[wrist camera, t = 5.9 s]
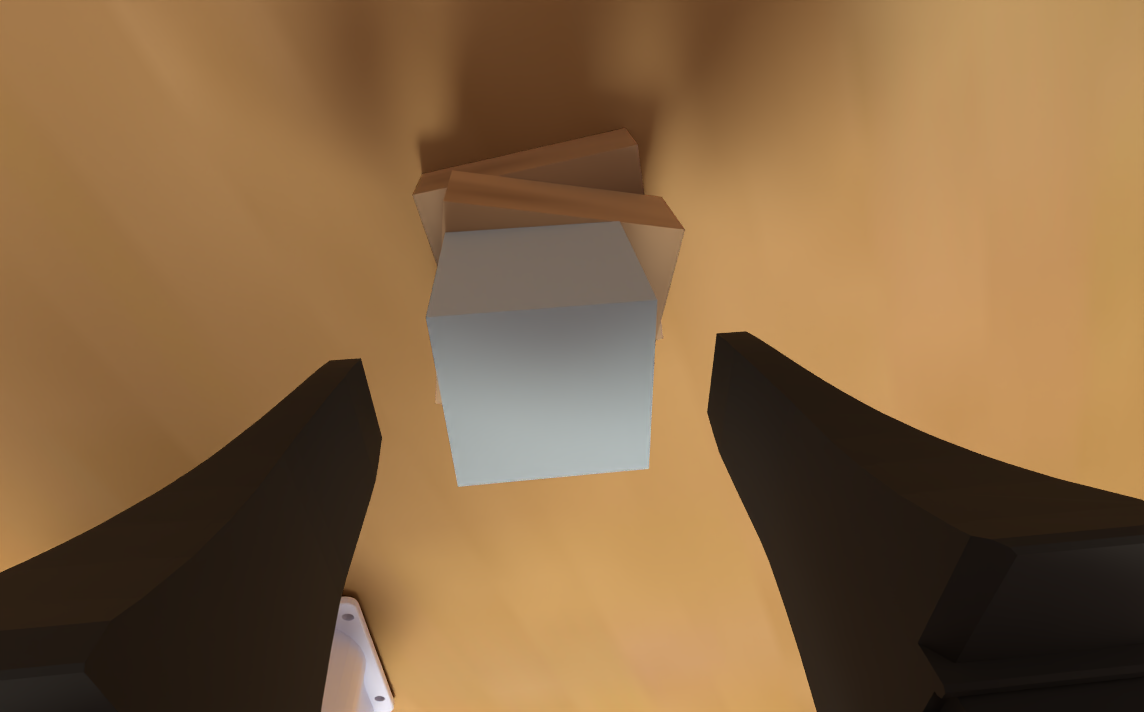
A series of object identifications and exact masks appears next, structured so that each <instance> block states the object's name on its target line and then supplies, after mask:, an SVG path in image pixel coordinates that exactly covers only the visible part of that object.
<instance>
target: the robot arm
mask: <svg viewBox="0 0 1144 712" xmlns="http://www.w3.org/2000/svg"><path fill="white" fill-rule="evenodd" d="M707 413H708V417H709V420H710V424H711V427H712V430H713V434H714V437H715V440H716V443H717V446H718V450H719V453H720V455H721V457H722V459H723V462H724V464H725V466H726V468H727V470H728V473H729V475H730V477H731V479H732V481H733V483H734V486H735V488H736V490H737V492H738V494H739V496H740V498H741V500H742V502H743V505H744V507H745V509H746V511H747V513H748V515H749V517H750V519H751V521H752V524H753V526H754V528H755V530H756V532H757V534H758V536H759V538H760V541H761V543H762V545H763V548H764V550H765V552H766V555H767V557H768V560H769V562H770V565H771V568H772V571H773V574H774V577H775V580H776V582H777V585H778V588H779V591H780V594H781V597H782V600H783V603H784V606H785V609H786V612H787V615H788V618H789V621H790V624H791V628H792V631H793V634H794V637H795V640H796V643H797V646H798V649H799V653H800V656H801V659H802V663H803V666H804V669H805V673H806V676H807V680H808V683H809V687H810V690H811V693H812V697H813V700H814V704H815V707H816V710H817V712H1144V501H1143V500H1141V499H1137V498H1133V497H1129V496H1125V495H1121V494H1117V493H1113V492H1109V491H1105V490H1101V489H1097V488H1093V487H1089V486H1085V485H1081V484H1077V483H1073V482H1069V481H1065V480H1061V479H1057V478H1054V477H1050V476H1047V475H1044V474H1040V473H1037V472H1034V471H1030V470H1027V469H1024V468H1021V467H1017V466H1014V465H1011V464H1008V463H1005V462H1002V461H999V460H996V459H993V458H990V457H987V456H984V455H981V454H978V453H976V452H973V451H970V450H968V449H965V448H962V447H960V446H957V445H955V444H952V443H949V442H947V441H944V440H941V439H939V438H937V437H934V436H932V435H929V434H927V433H925V432H922V431H920V430H918V429H915V428H913V427H911V426H909V425H907V424H905V423H903V422H900V421H898V420H896V419H894V418H892V417H890V416H887V415H885V414H883V413H881V412H879V411H877V410H875V409H873V408H871V407H870V406H868V405H866V404H864V403H862V402H860V401H859V400H857V399H855V398H853V397H851V396H850V395H848V394H846V393H844V392H842V391H841V390H839V389H837V388H836V387H834V386H832V385H831V384H829V383H827V382H825V381H824V380H822V379H821V378H819V377H817V376H816V375H814V374H813V373H811V372H809V371H808V370H806V369H805V368H803V367H802V366H800V365H798V364H797V363H795V362H794V361H792V360H791V359H789V358H788V357H786V356H785V355H783V354H782V353H780V352H779V351H777V350H775V349H774V348H772V347H771V346H769V345H768V344H766V343H765V342H763V341H762V340H760V339H758V338H757V337H755V336H753V335H752V334H750V333H748V332H731V333H717V336H716V344H715V353H714V361H713V369H712V377H711V386H710V394H709V402H708V411H707ZM381 441H382V436H381V432H380V428H379V425H378V421H377V417H376V413H375V410H374V406H373V402H372V398H371V395H370V391H369V387H368V383H367V379H366V376H365V372H364V368H363V364H362V361H361V358H360V359H345V360H331V361H329V362H327V363H326V364H325V365H323V366H322V367H321V368H319V369H318V370H317V371H316V372H315V373H313V374H312V375H311V376H310V377H309V378H308V379H306V380H305V381H304V382H303V383H302V384H301V385H299V386H298V387H297V388H296V389H295V390H294V391H293V392H291V393H290V394H289V395H288V396H287V397H286V398H284V399H283V400H282V401H281V402H280V403H278V404H277V405H276V406H275V407H274V408H273V409H271V410H270V411H269V412H268V413H267V414H266V415H264V416H263V417H262V418H261V419H260V420H258V421H257V422H256V423H254V424H253V425H252V426H251V427H249V428H248V429H247V430H245V431H244V432H243V433H242V434H240V435H239V436H238V437H236V438H235V439H234V440H232V441H231V442H230V443H229V444H227V445H226V446H225V447H223V448H222V449H221V450H220V451H218V452H217V453H215V454H214V455H213V456H211V457H210V458H209V459H207V460H206V461H204V462H203V463H201V464H200V465H198V466H197V467H196V468H194V469H193V470H191V471H190V472H188V473H186V474H185V475H183V476H182V477H180V478H179V479H177V480H176V481H174V482H173V483H171V484H169V485H168V486H166V487H165V488H163V489H161V490H160V491H158V492H157V493H155V494H153V495H151V496H150V497H148V498H146V499H144V500H143V501H141V502H139V503H137V504H136V505H134V506H132V507H130V508H128V509H127V510H125V511H123V512H121V513H120V514H118V515H116V516H114V517H113V518H111V519H109V520H107V521H106V522H104V523H102V524H100V525H98V526H96V527H94V528H93V529H91V530H89V531H87V532H85V533H83V534H81V535H79V536H77V537H75V538H73V539H71V540H69V541H67V542H65V543H63V544H61V545H59V546H57V547H55V548H52V549H50V550H48V551H46V552H44V553H42V554H40V555H38V556H36V557H33V558H31V559H29V560H27V561H25V562H23V563H21V564H18V565H16V566H14V567H12V568H9V569H7V570H5V571H3V572H1V573H0V712H390V711H392V710H393V708H394V699H393V696H392V693H391V691H390V688H389V685H388V682H387V680H386V677H385V674H384V671H383V669H382V666H381V663H380V660H379V658H378V655H377V652H376V650H375V647H374V644H373V641H372V639H371V636H370V633H369V630H368V628H367V625H366V622H365V620H364V617H363V614H362V611H361V609H360V606H359V603H358V602H357V600H356V599H354V598H352V597H341V596H342V593H343V589H344V585H345V581H346V577H347V574H348V571H349V567H350V564H351V561H352V558H353V554H354V551H355V548H356V544H357V541H358V538H359V535H360V531H361V528H362V525H363V522H364V518H365V515H366V512H367V508H368V505H369V502H370V498H371V495H372V491H373V488H374V484H375V481H376V475H377V469H378V463H379V456H380V448H381Z"/></svg>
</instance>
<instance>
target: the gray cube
mask: <svg viewBox="0 0 1144 712" xmlns="http://www.w3.org/2000/svg"><path fill="white" fill-rule="evenodd" d="M656 316H657V298H656V296H655V294H654V292H653V290H652V288H651V286H650V283H649V281H648V279H647V277H646V275H645V273H644V271H643V269H642V267H641V265H640V263H639V261H638V258H637V256H636V254H635V252H634V250H633V248H632V246H631V244H630V242H629V240H628V238H627V236H626V233H625V231H624V229H623V227H622V225H621V223H620V221H612V222H596V223H581V224H566V225H551V226H536V227H521V228H506V229H491V230H476V231H461V232H446V233H445V236H444V240H443V244H442V249H441V253H440V257H439V262H438V266H437V271H436V275H435V279H434V284H433V288H432V293H431V297H430V301H429V306H428V310H427V314H426V321H427V326H428V331H429V336H430V342H431V347H432V352H433V357H434V363H435V368H436V373H437V378H438V384H439V389H440V394H441V400H442V405H443V410H444V415H445V421H446V426H447V431H448V436H449V442H450V447H451V452H452V457H453V463H454V468H455V473H456V478H457V484H458V487H459V486H470V485H481V484H491V483H502V482H513V481H523V480H534V479H545V478H555V477H566V476H577V475H587V474H598V473H608V472H619V471H630V470H640V469H649V455H650V435H651V415H652V395H653V376H654V356H655V336H656Z"/></svg>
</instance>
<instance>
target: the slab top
mask: <svg viewBox="0 0 1144 712" xmlns="http://www.w3.org/2000/svg"><path fill="white" fill-rule="evenodd" d="M612 221H620V223H621V225H622V227H623V229H624V231H625V233H626V236H627V238H628V240H629V242H630V244H631V246H632V248H633V250H634V252H635V254H636V256H637V258H638V261H639V263H640V265H641V267H642V269H643V271H644V273H645V275H646V277H647V279H648V281H649V283H650V286H651V288H652V290H653V292H654V294H655V296H656V298H657V316H656V336H655V342H656V338H657V334H658V330H659V327H660V323H661V319H662V315H663V311H664V308H665V304H666V300H667V296H668V292H669V289H670V285H671V281H672V277H673V273H674V270H675V266H676V262H677V258H678V254H679V251H680V247H681V243H682V239H683V235H684V232H685V229H684V228H683V226H682V225H681V223H680V222H679V221H678V219H677V218H676V216H675V215H674V214H673V212H672V211H671V209H670V208H669V206H668V205H667V204H666V202H665V201H664V199H663V198H662V197H658V196H650V195H642V194H634V193H627V192H619V191H611V190H603V189H595V188H587V187H580V186H572V185H564V184H556V183H548V182H540V181H532V180H524V179H517V178H509V177H501V176H493V175H485V174H477V173H469V172H461V171H454V170H452V172H451V176H450V179H449V183H448V186H447V190H446V193H445V197H444V200H443V219H442V244H443V240H444V236H445V233H446V232H461V231H476V230H491V229H506V228H521V227H536V226H551V225H566V224H581V223H596V222H612ZM441 249H442V245H441ZM435 404H442V400H441V394H440V389H439V384H438V378H437V373H436V398H435Z"/></svg>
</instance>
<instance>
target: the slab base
mask: <svg viewBox="0 0 1144 712" xmlns="http://www.w3.org/2000/svg"><path fill="white" fill-rule="evenodd" d="M452 170H454V171H461V172H469V173H477V174H485V175H493V176H501V177H509V178H517V179H524V180H532V181H540V182H548V183H556V184H564V185H572V186H580V187H587V188H595V189H603V190H611V191H619V192H627V193H634V194H642V195H644V188H643V181H642V173H641V165H640V158H639V150H638V144H637V143H636V141H635V140H634V139H633V137H632V136H631V135H630V133H629V132H628V131H627V129H626V128H622V129H618V130H614V131H609V132H605V133H600V134H596V135H592V136H587V137H583V138H578V139H574V140H570V141H565V142H561V143H556V144H552V145H548V146H543V147H539V148H534V149H530V150H525V151H521V152H517V153H512V154H508V155H503V156H499V157H495V158H490V159H486V160H481V161H477V162H473V163H468V164H464V165H459V166H455V167H451V168H446V169H442V170H437V171H433V172H429V173H424V174H422V176H421V178H420V180H419V182H418V184H417V186H416V189H415V191H414V193H413V198H414V201H415V204H416V207H417V210H418V212H419V215H420V218H421V221H422V224H423V227H424V229H425V232H426V235H427V238H428V241H429V244H430V246H431V249H432V252H433V255H434V258H435V261H436V263H437V266H438V262H439V257H440V253H441V245H442V219H443V200H444V197H445V193H446V190H447V186H448V183H449V179H450V176H451V172H452ZM659 339H663V332H662V324H661V323H660V327H659V330H658V334H657V338H656V340H659Z"/></svg>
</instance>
